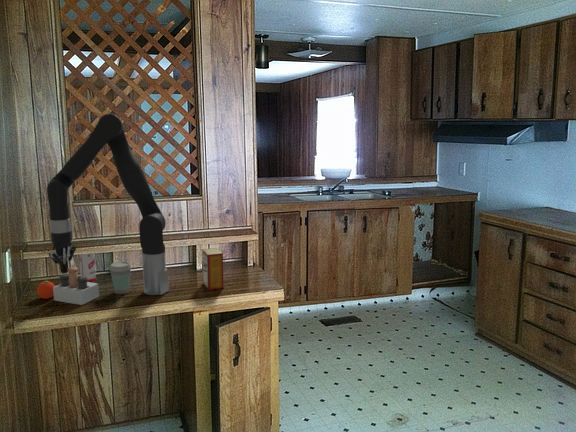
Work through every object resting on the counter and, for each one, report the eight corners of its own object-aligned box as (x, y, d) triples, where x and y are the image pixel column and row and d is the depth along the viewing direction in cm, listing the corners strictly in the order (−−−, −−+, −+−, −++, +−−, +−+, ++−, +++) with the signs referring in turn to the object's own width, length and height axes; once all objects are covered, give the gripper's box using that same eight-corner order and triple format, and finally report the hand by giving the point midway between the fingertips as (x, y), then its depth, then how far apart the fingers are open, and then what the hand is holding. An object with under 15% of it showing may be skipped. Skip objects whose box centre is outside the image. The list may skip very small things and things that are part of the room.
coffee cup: (132, 294, 216) (131, 266, 213) (110, 296, 213) (109, 267, 211) (132, 287, 224) (131, 260, 221) (111, 289, 221) (109, 261, 219)
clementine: (40, 294, 214) (38, 278, 212) (58, 293, 215) (57, 277, 214) (35, 302, 206) (34, 284, 205) (54, 300, 208) (53, 283, 206)
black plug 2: (90, 296, 209) (89, 277, 207) (84, 299, 205) (82, 280, 204) (83, 295, 210) (81, 276, 209) (76, 298, 207) (74, 279, 205)
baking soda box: (202, 283, 230) (202, 248, 226) (217, 281, 232) (216, 247, 229) (208, 290, 221) (207, 254, 218) (223, 288, 224) (222, 252, 220)
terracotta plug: (81, 286, 210) (80, 267, 208) (74, 289, 206) (73, 270, 204) (73, 285, 211) (72, 266, 209) (66, 288, 207) (65, 269, 206)
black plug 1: (73, 293, 212) (72, 275, 210) (66, 296, 208) (65, 277, 207) (65, 292, 213) (64, 273, 211) (58, 295, 209) (57, 276, 208)
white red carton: (98, 279, 233) (96, 245, 229) (92, 284, 227) (89, 248, 223) (85, 279, 233) (82, 244, 230) (78, 284, 227) (75, 248, 224)
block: (99, 296, 213) (98, 283, 212) (82, 305, 204) (81, 291, 202) (72, 292, 217) (71, 279, 216) (54, 300, 208) (52, 287, 207)
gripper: (56, 234, 198) (60, 278, 201) (80, 227, 210) (83, 268, 213) (40, 233, 200) (44, 276, 204) (65, 225, 212) (68, 266, 216)
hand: (64, 272), depth 209 cm, fingers closed
